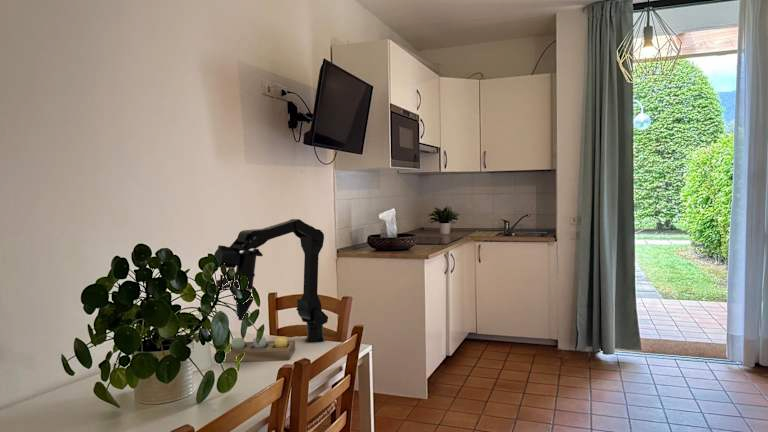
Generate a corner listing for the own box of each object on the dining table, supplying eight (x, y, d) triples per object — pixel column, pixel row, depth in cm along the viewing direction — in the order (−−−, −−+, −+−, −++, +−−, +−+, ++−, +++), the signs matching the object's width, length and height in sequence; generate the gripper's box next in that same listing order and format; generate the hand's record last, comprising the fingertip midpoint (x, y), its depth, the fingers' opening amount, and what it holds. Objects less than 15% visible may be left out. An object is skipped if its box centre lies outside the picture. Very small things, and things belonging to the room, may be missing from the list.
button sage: (233, 350, 177) (233, 338, 176) (246, 349, 177) (245, 337, 176) (230, 353, 173) (230, 341, 172) (242, 353, 173) (242, 341, 172)
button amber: (276, 348, 177) (275, 336, 176) (288, 348, 177) (288, 336, 176) (273, 352, 173) (273, 340, 172) (286, 351, 173) (285, 339, 172)
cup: (215, 363, 168) (213, 312, 168) (204, 371, 160) (201, 318, 159) (190, 363, 169) (188, 312, 168) (178, 371, 161) (175, 319, 160)
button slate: (255, 349, 177) (254, 337, 176) (267, 348, 177) (266, 336, 176) (252, 352, 173) (251, 340, 172) (264, 352, 173) (264, 340, 172)
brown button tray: (232, 351, 181) (232, 342, 181) (295, 349, 181) (294, 340, 181) (222, 362, 169) (222, 353, 169) (289, 360, 169) (288, 350, 169)
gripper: (219, 265, 178) (213, 313, 177) (219, 268, 160) (213, 320, 159) (253, 269, 181) (247, 315, 180) (257, 271, 164) (251, 323, 162)
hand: (239, 318), depth 170 cm, fingers open, 9 cm apart
